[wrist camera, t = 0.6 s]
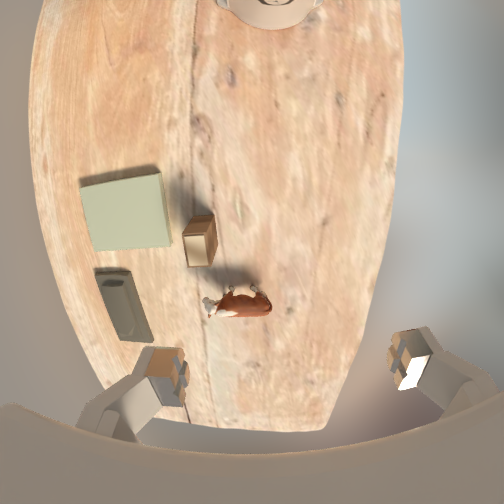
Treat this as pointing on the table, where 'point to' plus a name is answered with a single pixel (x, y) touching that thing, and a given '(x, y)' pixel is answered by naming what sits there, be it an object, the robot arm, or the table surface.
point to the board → (127, 213)
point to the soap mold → (124, 306)
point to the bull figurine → (239, 305)
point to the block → (200, 241)
